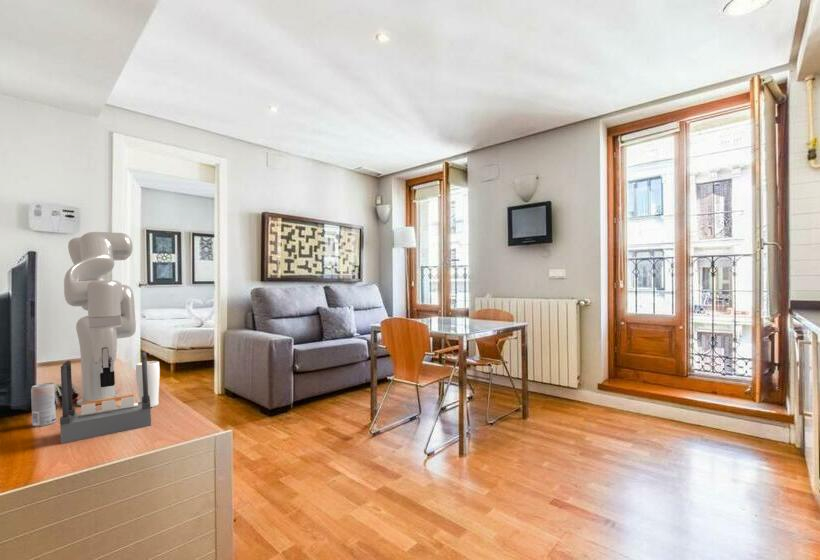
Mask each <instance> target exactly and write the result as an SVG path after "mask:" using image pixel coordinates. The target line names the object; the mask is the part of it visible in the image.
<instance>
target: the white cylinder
mask: <svg viewBox="0 0 820 560" xmlns="http://www.w3.org/2000/svg"><path fill="white" fill-rule="evenodd" d="M160 376H161V368H160V361H158V360H151V361H150V360H149V361H148V360H147V378H148V396H150V409H152V408H154V407H157V406H158V405H159V403H160V402H159V399H160V397H159V395H160V393H159V392H160V380H161V379H160ZM135 377H136V383H137V385H136V386H137V391H138V397H139V402H142V397H143V376H142V362H139V363H136V364H135ZM151 407H152V408H151Z"/></svg>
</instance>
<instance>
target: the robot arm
mask: <svg viewBox="0 0 820 560" xmlns="http://www.w3.org/2000/svg"><path fill="white" fill-rule="evenodd" d="M67 249H68V254H69V256H70V260H71V261H72V263H73V265H72V266H71V267H70V268H69V269H68V270H67V272H65V274H64V278H63V293H64V298H65V302H66V303H67V304H68V305H70V306H71V307H81V308H82V309H83V310H84V311H87V315H85V316H82V317H80V318H79V319H78V321H77V322H76V324H75V325H76V326H75V329H76V334H77V335H76V336H77V338H78V345H79V352H80V370H81V371H80V372H81V374H80V376H81V394H82V397H81V398H80V399H78V400H77V401H76V405H77V406H80V407H81V403H82V402H87V401H93V400H99V399H105V398H111V397H117V396H122V395H121V393H120V392H116V382H115V381H116V379H115V376H116V375H115V361H116V359H117V352H118V351H117V350H118V349H117V348H118V339H123V338H125V339H126V338H130V337H132V336H134V335H135V333H136V329H137V326H136V325H137V323H136V322H137V321H136V311H135V310H136V309H135V306H136V305H135V297H134V292H133V290H132V289H133V288H131V286H129V285H127V284H122V282H120V281H118V280H111V279H109V273H110V272H111V271H112V270H113V269H114V267H115V261H126V260H127V259H128V258H130V256H132V253H133V242H132V238H131V237H130V236H129V234H126V233H124V232H109V231H90V232H86V233H84V234H83V235H81V236H79V237H77V236H76V237H74V238H73V237H72V238H70V240H69V241H68V245H67ZM96 405H98V404H96ZM100 405H102V403H101V404H100Z"/></svg>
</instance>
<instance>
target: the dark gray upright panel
mask: <svg viewBox="0 0 820 560" xmlns="http://www.w3.org/2000/svg"><path fill="white" fill-rule="evenodd" d="M60 383H61V386H60V387H61V388H60V389H61V405H62V409H61V411H62V416H61V417H60V418H59V424H60V425H63V424H69V423H71V416H74V415H75V414H76V407H74V405H73V387H72V386H73V381H72V363H71V361H70V360H66V361H65V362H64V363H63V364H62V365H60Z"/></svg>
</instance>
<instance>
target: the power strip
mask: <svg viewBox="0 0 820 560" xmlns="http://www.w3.org/2000/svg"><path fill="white" fill-rule="evenodd" d="M135 403H136V402H134V404H135ZM137 403H138V406H137V407H131V408H126V409H120V410H115V411H109V412H103V413H98V414H92V415H86V416H81V417H77V413H78V412H77V413H76V412H75V415H74V416H71V423H69V424H63V425H60V426H59V427H60V444H67V443H73V442H76V441H82V440H86V439H87V440H88V439H91V438H96V437H101V436H105V435H110V434H111V435H112V434H115V433H116V434H117V433H121V432H126V431H130V430H136V429H140V428H146V427H151V426H152V419H151V417H152V412H151V408H150V409H145V410H142V402H140V401H139V402H137ZM117 406H118V405H117ZM117 406H116V405H115V407H117ZM100 409H101V408H100ZM100 409H98V410H100ZM150 425H151V426H150ZM145 426H146V427H145Z"/></svg>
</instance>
